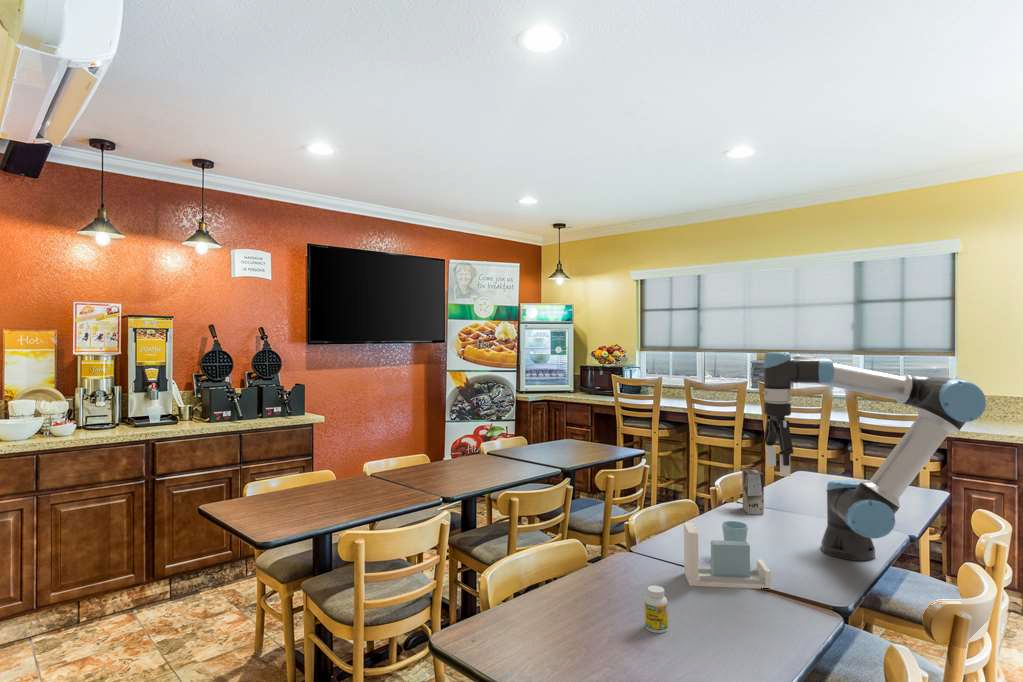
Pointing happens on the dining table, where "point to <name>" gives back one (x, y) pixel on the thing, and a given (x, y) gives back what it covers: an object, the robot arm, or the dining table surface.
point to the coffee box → (753, 491)
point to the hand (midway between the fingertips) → (777, 470)
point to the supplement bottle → (656, 610)
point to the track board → (703, 575)
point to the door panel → (730, 558)
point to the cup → (734, 531)
